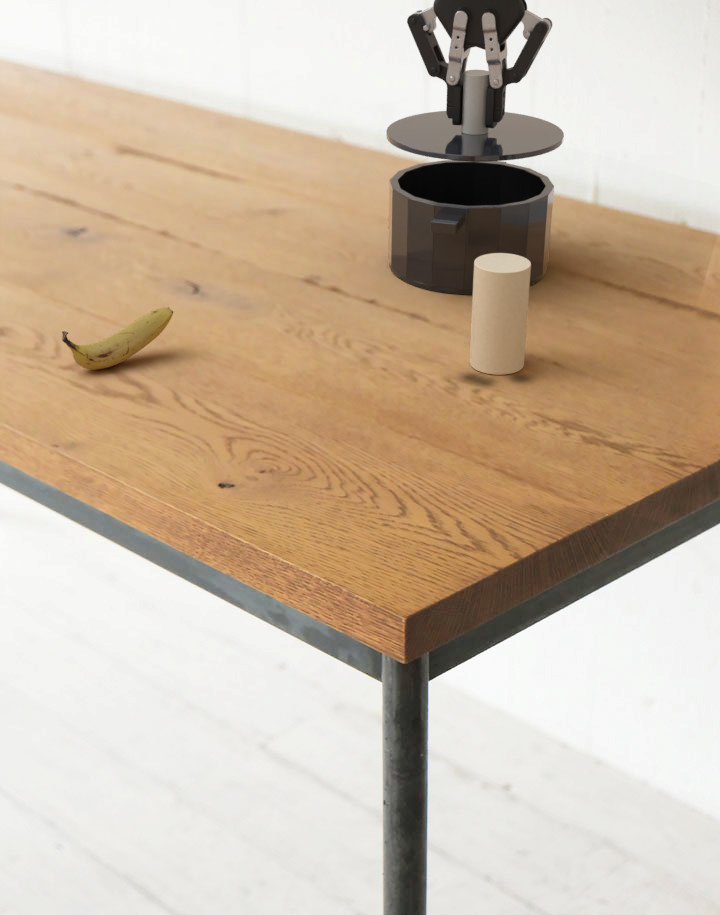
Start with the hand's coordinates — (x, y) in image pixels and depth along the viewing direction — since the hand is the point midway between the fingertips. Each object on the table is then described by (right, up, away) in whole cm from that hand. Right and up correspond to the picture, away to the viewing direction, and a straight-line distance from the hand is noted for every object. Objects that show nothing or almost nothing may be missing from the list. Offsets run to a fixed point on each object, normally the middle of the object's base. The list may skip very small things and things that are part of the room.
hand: (475, 123), depth 128 cm
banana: (-31, -24, -14) cm, 41 cm away
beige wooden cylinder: (+1, -24, -14) cm, 27 cm away
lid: (0, -1, +1) cm, 1 cm away
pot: (0, -12, +7) cm, 14 cm away
